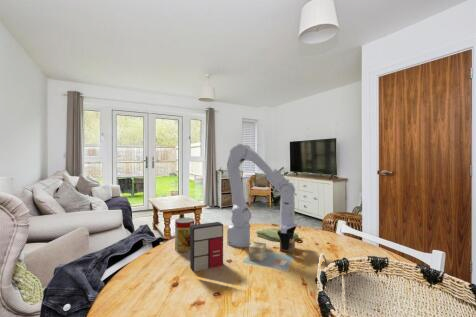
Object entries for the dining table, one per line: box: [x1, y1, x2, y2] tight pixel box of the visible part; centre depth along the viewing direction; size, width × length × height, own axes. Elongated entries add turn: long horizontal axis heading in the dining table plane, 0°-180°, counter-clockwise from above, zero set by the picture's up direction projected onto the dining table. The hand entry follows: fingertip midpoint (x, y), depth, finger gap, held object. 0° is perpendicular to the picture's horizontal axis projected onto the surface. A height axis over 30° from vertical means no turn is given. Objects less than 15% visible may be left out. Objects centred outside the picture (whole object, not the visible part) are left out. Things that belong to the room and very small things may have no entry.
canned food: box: [174, 217, 195, 253], centre depth 98 cm, size 8×8×12 cm
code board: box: [242, 251, 294, 272], centre depth 86 cm, size 16×13×1 cm
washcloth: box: [255, 227, 300, 243], centre depth 113 cm, size 13×18×3 cm
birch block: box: [248, 241, 267, 262], centre depth 87 cm, size 5×5×5 cm
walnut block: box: [279, 238, 296, 254], centre depth 95 cm, size 5×5×5 cm
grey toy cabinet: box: [189, 221, 224, 273], centre depth 80 cm, size 11×4×15 cm, turn 117°
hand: (287, 246), depth 95 cm, fingers open, 7 cm apart
